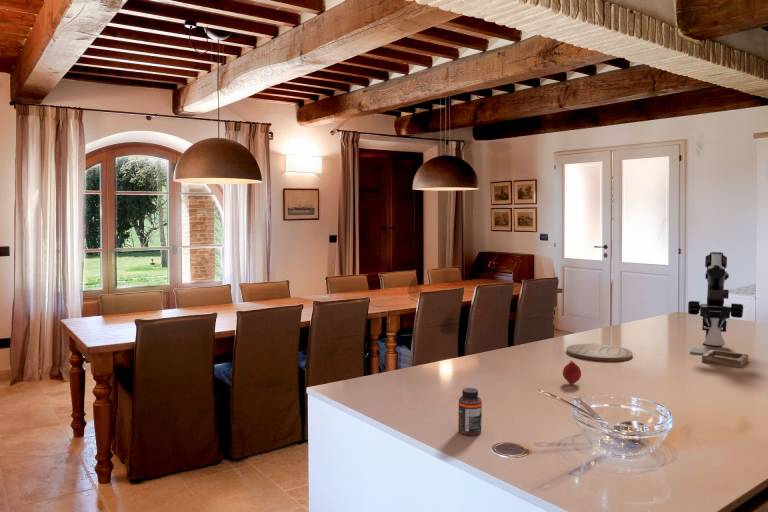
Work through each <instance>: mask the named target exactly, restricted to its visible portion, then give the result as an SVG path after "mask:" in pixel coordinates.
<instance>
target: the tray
mask: <svg viewBox="0 0 768 512" xmlns="http://www.w3.org/2000/svg"><path fill="white" fill-rule="evenodd" d="M701 362H702V363H708V364H713V365H721V366H728V367H733V368H734V367H735V368H742V367H743V366H745V364H746V363H748V362H749V354H746V353H740V352H732V351H724V350H717V349H711V350H709V351H708V352H706V353H705V354H703V355H701Z"/></svg>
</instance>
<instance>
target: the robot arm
mask: <svg viewBox="0 0 768 512" xmlns="http://www.w3.org/2000/svg"><path fill="white" fill-rule="evenodd" d="M704 260H705V261H704V267H705V268H706V270H705V276H704V277H705V280H707V291H706V292H707V295H706V296H707V297H706V303H701V301H699V300H689V301H688V305H687V310H688V311H687V313H688V314H689V315H695V316H697V315H699V314H700V315H699V316H700V317H702V329H701V331H705V339H706V337H707V334H708V332H709V329H710V325H711V320H710V318H720V320H719V328H720V331H721V333H722V332H723V333H725V332H726V333H727V324H728V323H727V320H728V319H730V318H731V317H732V318H739V319H741V318H743V314H744V305H743V304H742V303H735V302H734V303H733V302H731V303H730V304H731V305H730V306H726V305H724V304H725V299H726V300H729V289H725V281H727V280H728V279H729V277H730V276H729V275H730V274H729V273H728V271H726V269H727V266H728V257H727V256H726V255H725V254H724V253H723V252H722V251H711V252H709V254H707V255H705V259H704ZM705 339H704V340H705ZM702 345H705V346H711V347H712V346H713V347H718V348H719V347H721V346H722V345H720V346H716V345H708V344H704V342H703V343H702Z"/></svg>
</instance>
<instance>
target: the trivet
mask: <svg viewBox="0 0 768 512" xmlns="http://www.w3.org/2000/svg"><path fill="white" fill-rule="evenodd" d="M566 354H567V355H569V356H571V357H573V358H576V359H580V360H585V361H591V362H603V363H608V362H609V363H615V362H616V363H617V362H625V361H630V360H632V359H633V357H634V353H633V351H632V350H630V349H628V348H625V347H622V346H618V345H617V346H616V345H610V344H603V343H576V344H571V345H568V346H566Z"/></svg>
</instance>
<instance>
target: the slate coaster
mask: <svg viewBox="0 0 768 512" xmlns="http://www.w3.org/2000/svg"><path fill="white" fill-rule="evenodd" d="M709 350H712V349H711V348H710V349H709V348H700V347H691V349H690V351H689V354H690V355H699V356H702V355H703V354H705V353H706V352H708V351H709Z"/></svg>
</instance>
